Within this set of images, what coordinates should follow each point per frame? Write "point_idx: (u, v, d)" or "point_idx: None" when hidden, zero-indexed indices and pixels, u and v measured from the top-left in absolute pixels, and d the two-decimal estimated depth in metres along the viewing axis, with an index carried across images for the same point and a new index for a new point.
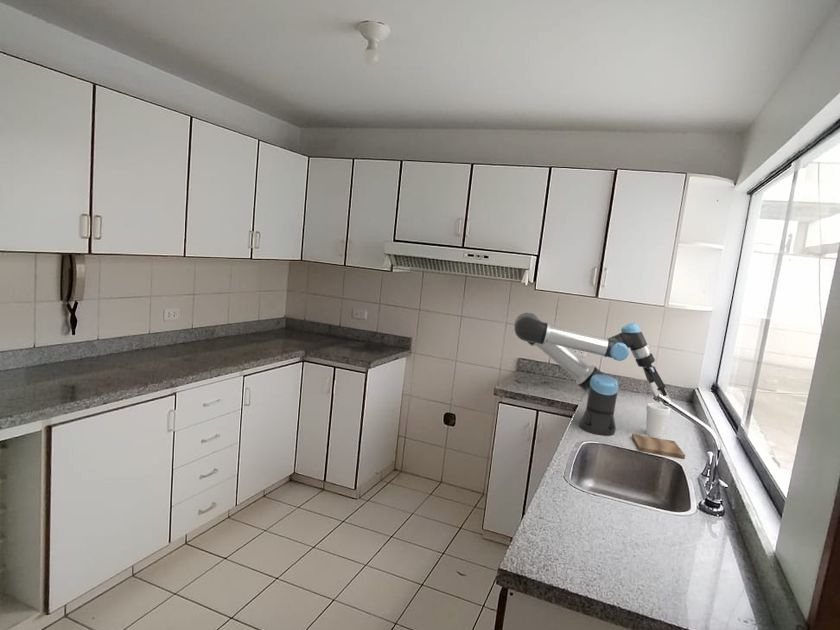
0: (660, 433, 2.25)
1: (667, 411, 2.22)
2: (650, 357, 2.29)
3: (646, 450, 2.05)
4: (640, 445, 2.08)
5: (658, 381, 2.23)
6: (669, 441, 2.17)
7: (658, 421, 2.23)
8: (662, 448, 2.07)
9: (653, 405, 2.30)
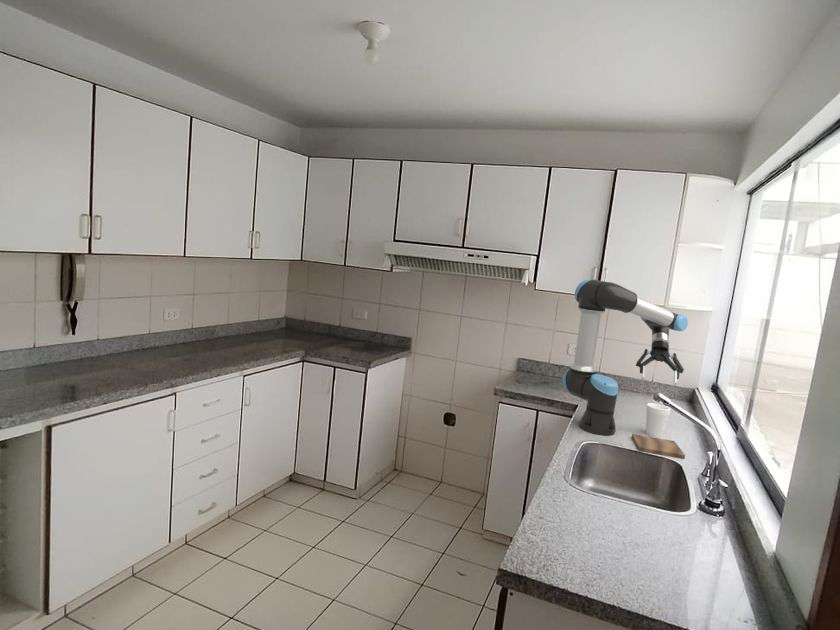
0: (660, 433, 2.25)
1: (667, 411, 2.22)
2: None
3: (646, 450, 2.05)
4: (640, 445, 2.08)
5: None
6: (669, 441, 2.17)
7: (658, 421, 2.23)
8: (662, 448, 2.07)
9: (653, 405, 2.30)
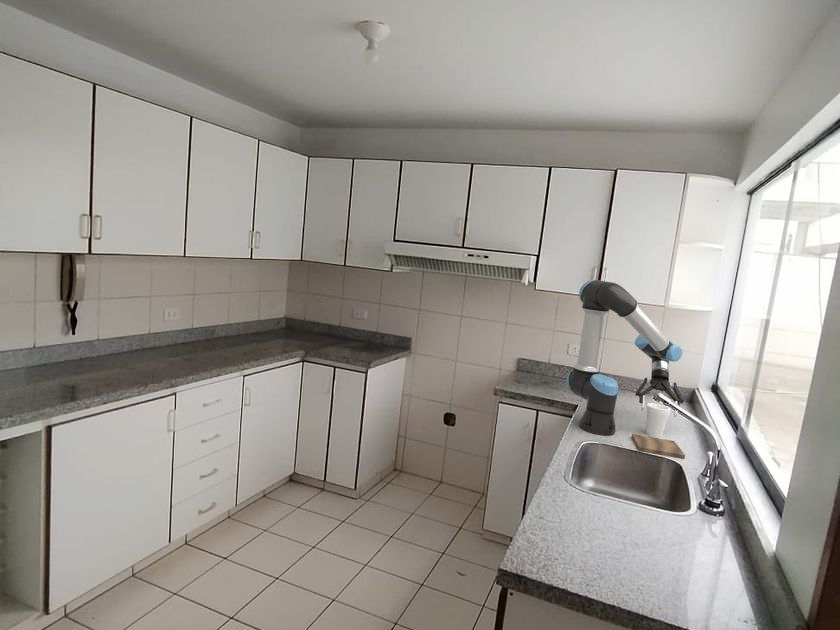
0: (660, 433, 2.25)
1: (667, 411, 2.22)
2: None
3: (646, 450, 2.05)
4: (640, 445, 2.08)
5: None
6: (669, 441, 2.17)
7: (658, 421, 2.23)
8: (662, 448, 2.07)
9: (653, 405, 2.30)
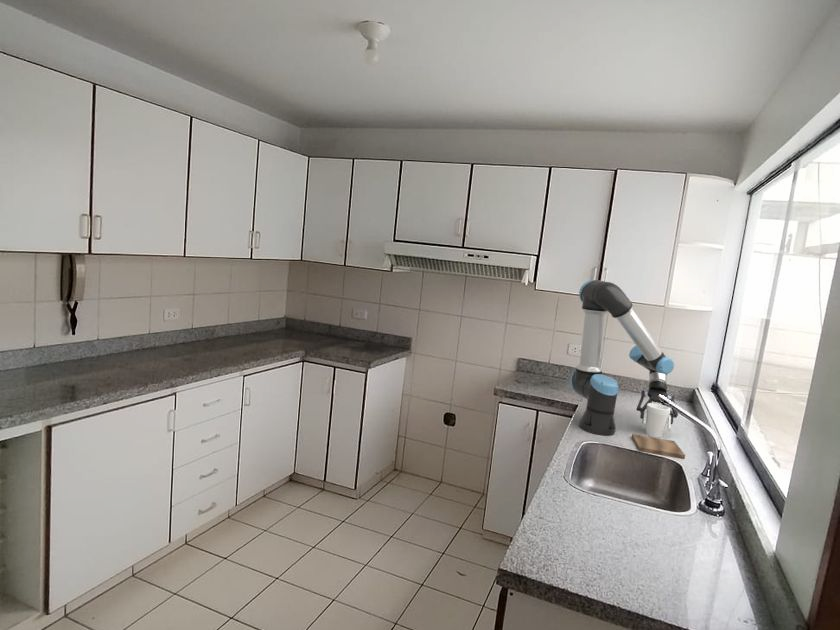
0: (660, 433, 2.25)
1: (667, 411, 2.22)
2: None
3: (646, 450, 2.05)
4: (640, 445, 2.08)
5: None
6: (669, 441, 2.17)
7: (658, 421, 2.23)
8: (662, 448, 2.07)
9: (653, 405, 2.30)
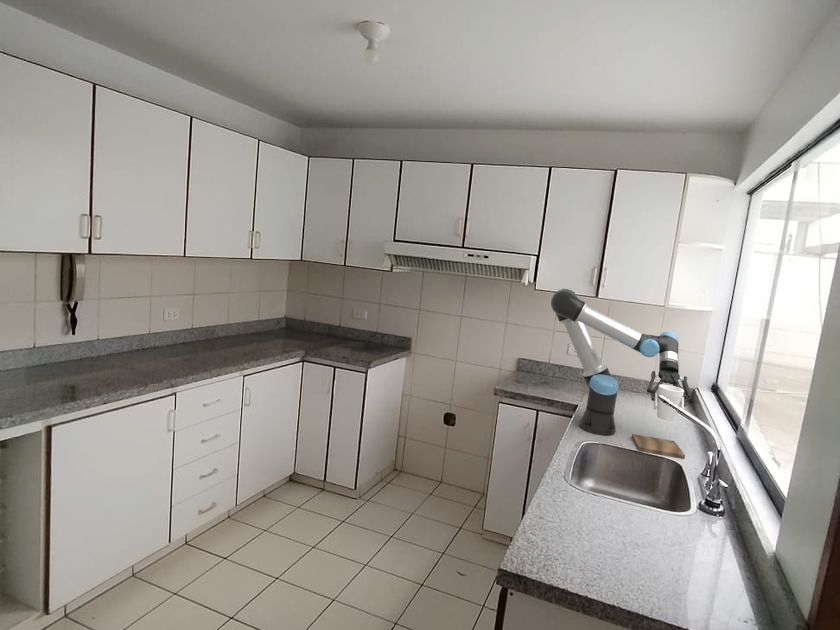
0: (672, 416, 2.10)
1: (681, 393, 2.07)
2: None
3: (646, 450, 2.05)
4: (640, 445, 2.08)
5: None
6: (669, 441, 2.17)
7: None
8: (662, 448, 2.07)
9: (665, 386, 2.15)
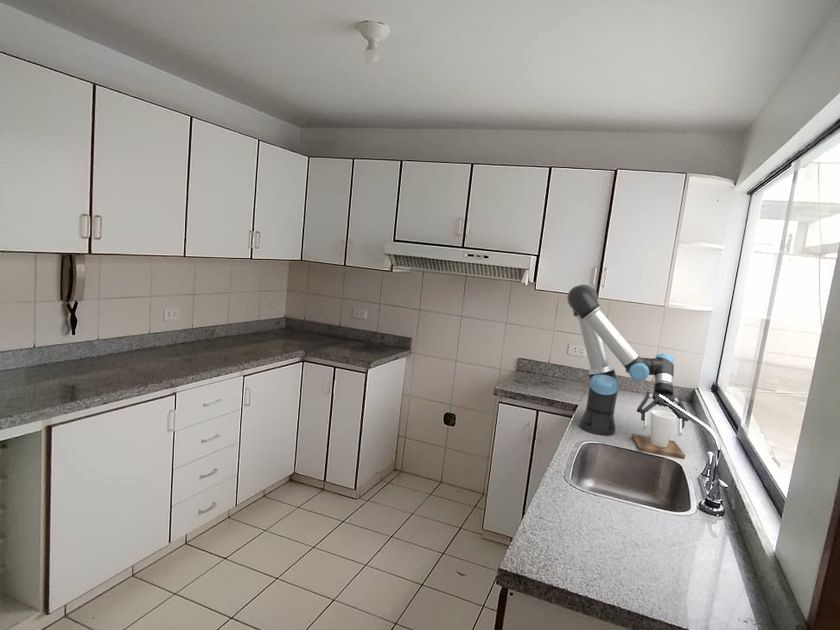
0: (666, 442, 2.08)
1: (673, 419, 2.06)
2: None
3: (646, 450, 2.05)
4: (640, 445, 2.08)
5: None
6: (669, 441, 2.17)
7: (663, 430, 2.07)
8: (662, 448, 2.07)
9: (658, 412, 2.14)
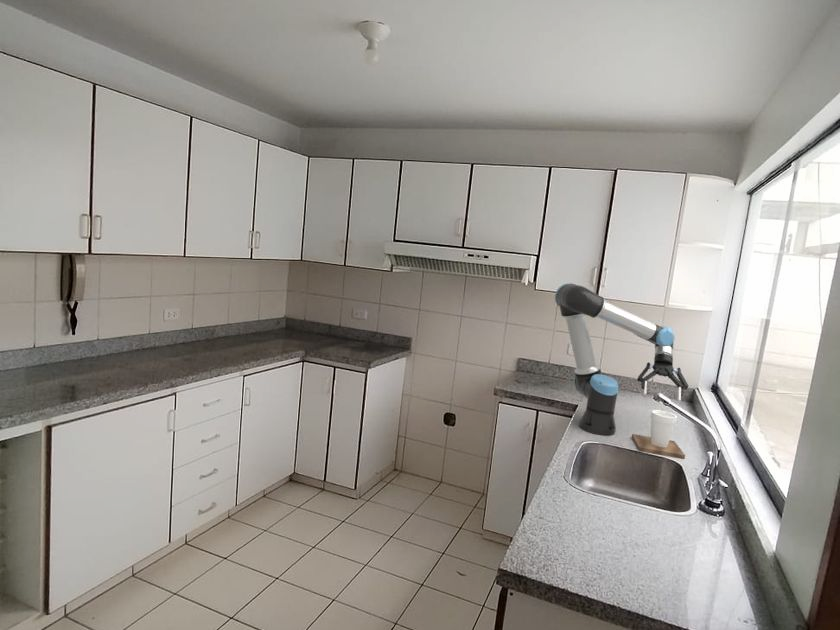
0: (666, 443, 2.08)
1: (673, 419, 2.06)
2: None
3: (646, 450, 2.05)
4: (640, 445, 2.08)
5: None
6: (669, 441, 2.17)
7: (663, 430, 2.07)
8: (662, 448, 2.07)
9: (658, 412, 2.14)
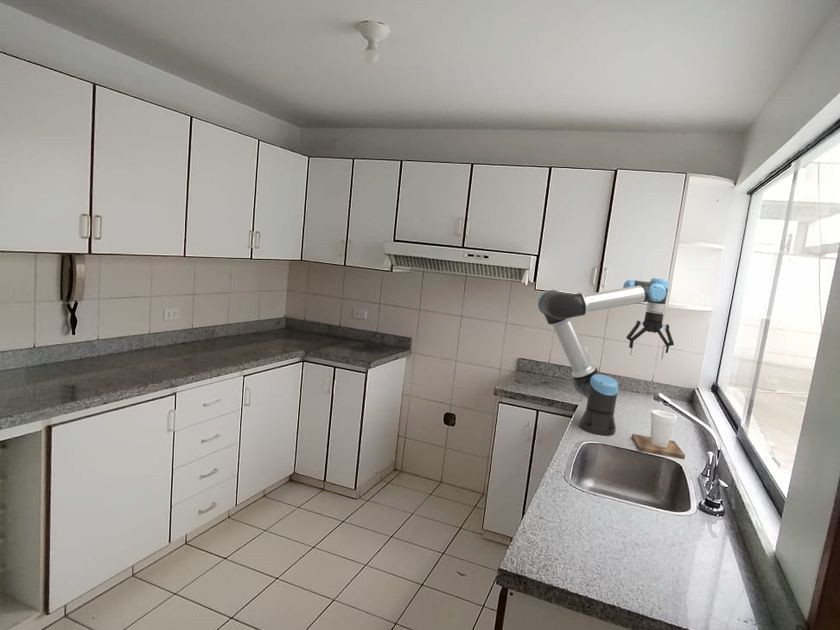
0: (666, 443, 2.08)
1: (673, 419, 2.06)
2: None
3: (646, 450, 2.05)
4: (640, 445, 2.08)
5: None
6: (669, 441, 2.17)
7: (663, 430, 2.07)
8: (662, 448, 2.07)
9: (658, 412, 2.14)
